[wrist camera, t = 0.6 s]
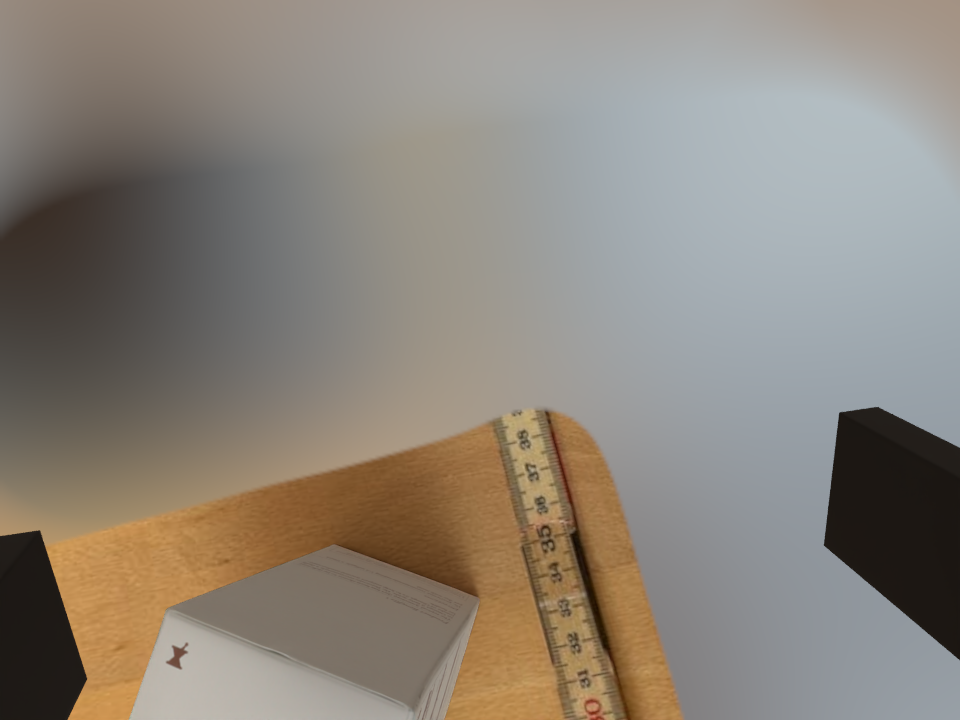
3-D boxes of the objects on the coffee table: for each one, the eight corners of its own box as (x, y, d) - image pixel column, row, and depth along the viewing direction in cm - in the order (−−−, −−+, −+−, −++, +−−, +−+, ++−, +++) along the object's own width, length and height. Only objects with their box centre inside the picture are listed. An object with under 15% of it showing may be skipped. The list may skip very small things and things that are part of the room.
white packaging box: (278, 701, 29) (58, 880, 17) (334, 539, 30) (161, 597, 18) (433, 770, 28) (316, 1018, 16) (488, 598, 29) (417, 706, 16)
